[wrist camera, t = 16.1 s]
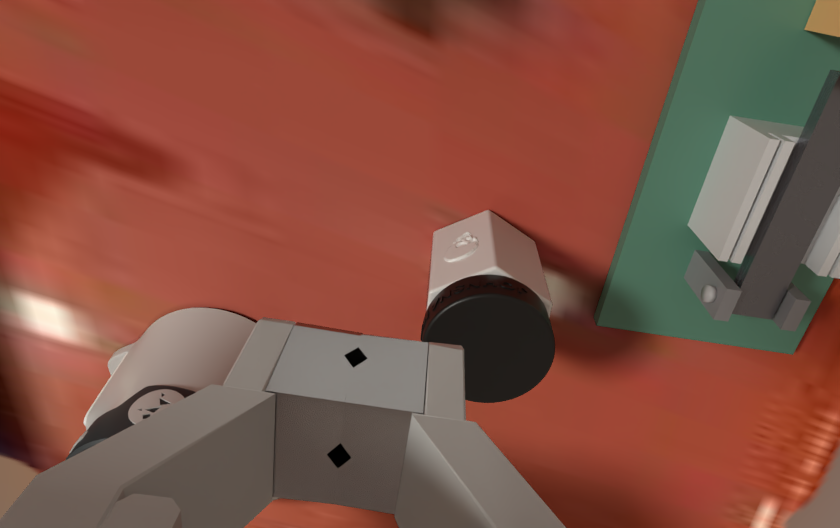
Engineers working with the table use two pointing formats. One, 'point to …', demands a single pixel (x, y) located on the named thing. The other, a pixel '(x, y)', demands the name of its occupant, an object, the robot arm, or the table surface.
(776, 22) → the board
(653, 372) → the table surface
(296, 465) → the robot arm
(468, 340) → the jar
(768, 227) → the dark grey flat bar
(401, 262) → the table surface
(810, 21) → the tan wooden block
